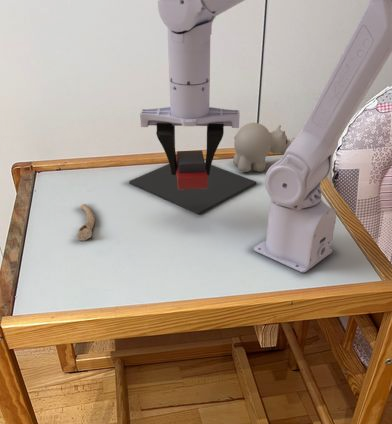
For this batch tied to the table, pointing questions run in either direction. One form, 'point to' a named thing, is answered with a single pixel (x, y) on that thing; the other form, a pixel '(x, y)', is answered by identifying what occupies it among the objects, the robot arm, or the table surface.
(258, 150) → the toy rhinoceros
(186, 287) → the table surface
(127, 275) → the table surface
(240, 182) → the mat
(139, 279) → the table surface
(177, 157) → the toy car
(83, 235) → the bone
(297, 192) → the robot arm
